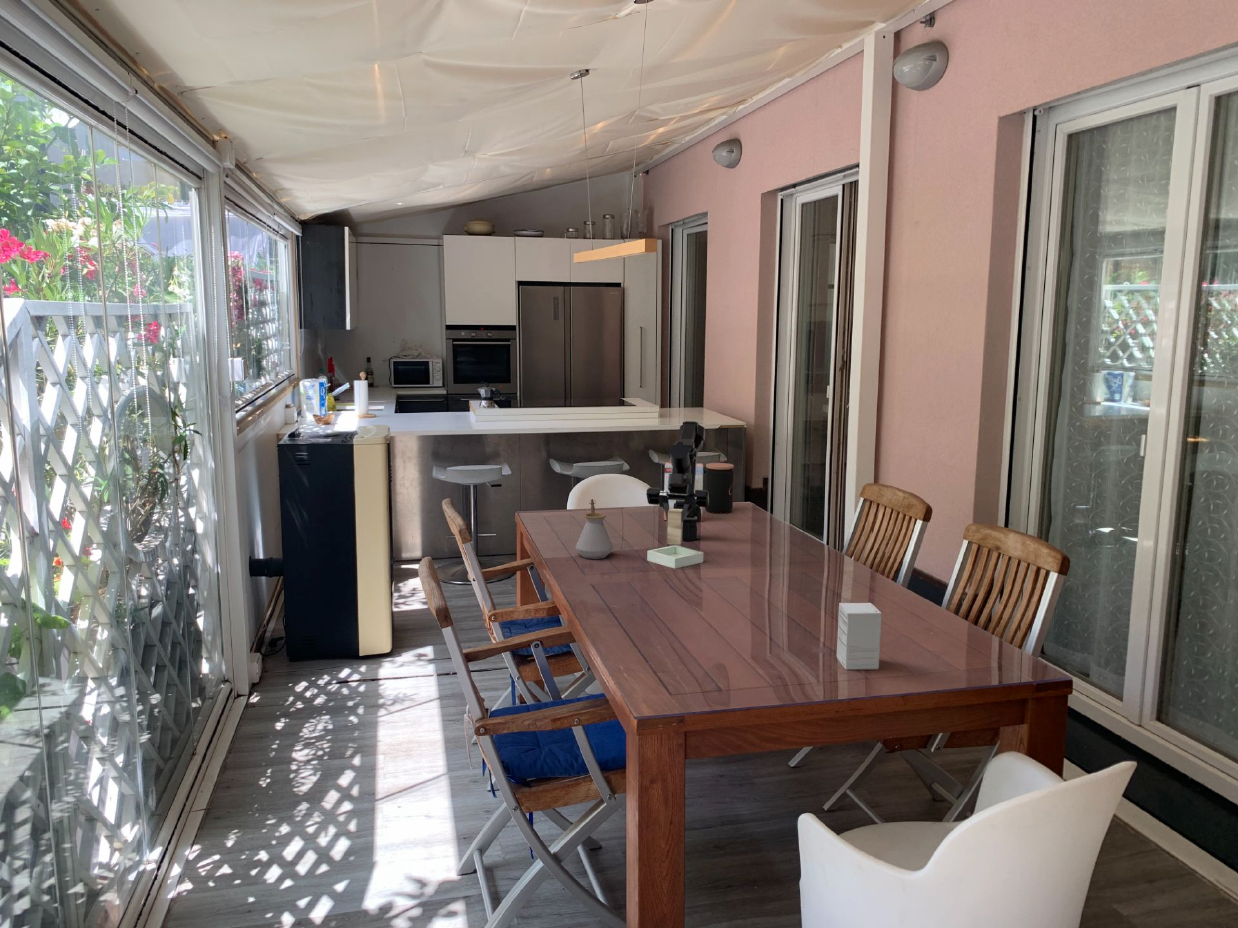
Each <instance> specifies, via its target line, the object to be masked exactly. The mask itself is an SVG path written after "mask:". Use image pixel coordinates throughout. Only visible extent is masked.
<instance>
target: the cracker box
mask: <svg viewBox="0 0 1238 928" xmlns="http://www.w3.org/2000/svg"><path fill="white" fill-rule="evenodd" d="M672 468H673V467H672V465H671V462H665V463H664V483H663V485H664V489H663V491H666V492H668V493H669V490H668V480H669V474H672ZM695 490H704V463H700V462H699V463H698V462H697V463H696V475H695V488H694V493H695ZM668 502H669V509H673V507H674V503H676V500H669V501H668ZM700 508H701V522H702V521H703V507H700ZM695 518H697V517H695ZM664 520H667V519H666V514H665V511H664V510H663V521H664Z"/></svg>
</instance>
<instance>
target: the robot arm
mask: <svg viewBox="0 0 1238 928" xmlns="http://www.w3.org/2000/svg"><path fill="white" fill-rule="evenodd" d="M678 437H679V440H677V441H675V442H674V444H673V445H672V447H670V449H669V455H668V456H669V458H670V463H671V465H672V467H673V468H672V474H669V480H668V490H669V493H668V492H666V491H664V490H661V487H648V488H647V489H646V499H647V504H648V505H655V506H657V505H659V507H660V508H663V512H664V511H665V514H666V519H667V521H666V522H668V510H669V502H668V501H669V500H676V503H674V507H673V509H683V512H682V516H681V522H683V527H682V542H683V541H684V542H690V541H695V540H699V539H700V537H699V536H698V524H697V523H700V522H702V521H701V508H700V507H702V508H705V507H708V506H709V494H708V491H707V490H705V489H703V490H695V493H694V488H695V475H696V463H698V462H697V461H698V453H699V452H700V451H701V450H702V449H703V445H704V442H705V440H706V429H705V427H704V426H703V425H700V424H699V422H698V421H691V420H689V421H688V420H685V421H682V424H681V425H680V426H679V433H678ZM695 517H697V518H695Z"/></svg>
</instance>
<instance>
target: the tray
mask: <svg viewBox="0 0 1238 928" xmlns="http://www.w3.org/2000/svg"><path fill="white" fill-rule="evenodd" d="M646 557H647V558H646V559H647V561H648V562H650V563H654V564H658V565H662V566H664V567H668V568H671V569H679V568H685V567H688V566H693V565H698V564H702V563H704V552H703V551H699V550H695V549H691V548H689V547H684V546H681V545H679V544H673V545H670V546H669V545H668V546H665V547H660V548H655V549H649V550H647V556H646Z"/></svg>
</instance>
